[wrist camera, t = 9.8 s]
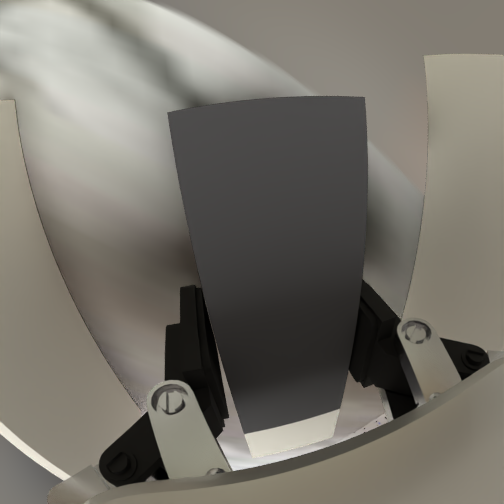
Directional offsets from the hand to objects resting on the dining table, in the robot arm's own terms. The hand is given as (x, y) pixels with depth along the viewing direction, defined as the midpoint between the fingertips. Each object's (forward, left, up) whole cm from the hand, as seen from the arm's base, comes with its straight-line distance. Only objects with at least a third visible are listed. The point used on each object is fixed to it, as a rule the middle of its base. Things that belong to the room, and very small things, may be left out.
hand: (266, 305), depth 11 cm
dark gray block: (0, 0, -2) cm, 2 cm away
